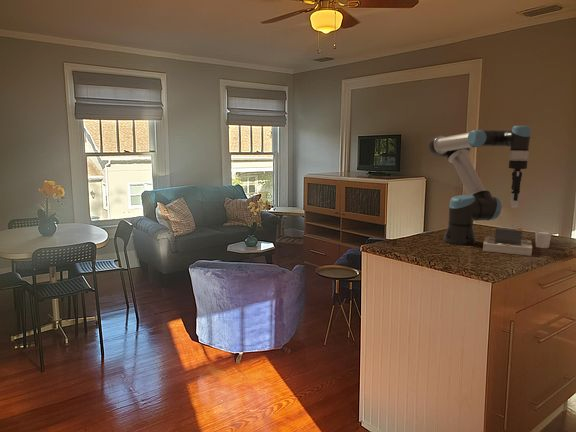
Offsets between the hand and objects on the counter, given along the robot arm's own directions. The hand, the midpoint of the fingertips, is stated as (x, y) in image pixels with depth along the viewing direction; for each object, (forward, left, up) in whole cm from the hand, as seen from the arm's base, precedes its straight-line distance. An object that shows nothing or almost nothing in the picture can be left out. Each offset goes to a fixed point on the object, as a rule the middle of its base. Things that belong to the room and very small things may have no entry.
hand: (513, 205), depth 210 cm
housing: (-1, -2, -21) cm, 21 cm away
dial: (-1, -2, -18) cm, 19 cm away
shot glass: (+14, +12, -21) cm, 28 cm away
